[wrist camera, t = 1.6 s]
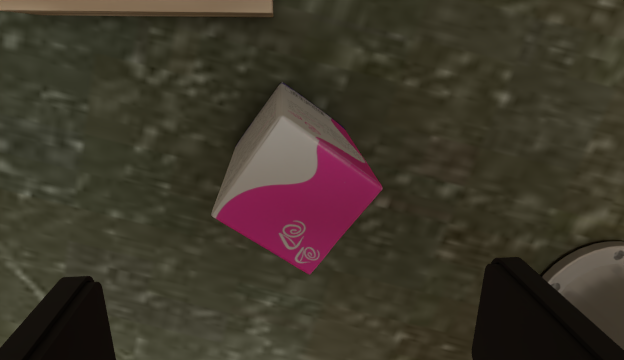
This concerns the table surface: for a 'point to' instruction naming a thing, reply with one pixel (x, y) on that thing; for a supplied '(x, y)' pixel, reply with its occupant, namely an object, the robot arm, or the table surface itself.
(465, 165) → the table surface
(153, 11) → the birch plinth
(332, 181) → the supplement box
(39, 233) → the table surface
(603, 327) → the robot arm
